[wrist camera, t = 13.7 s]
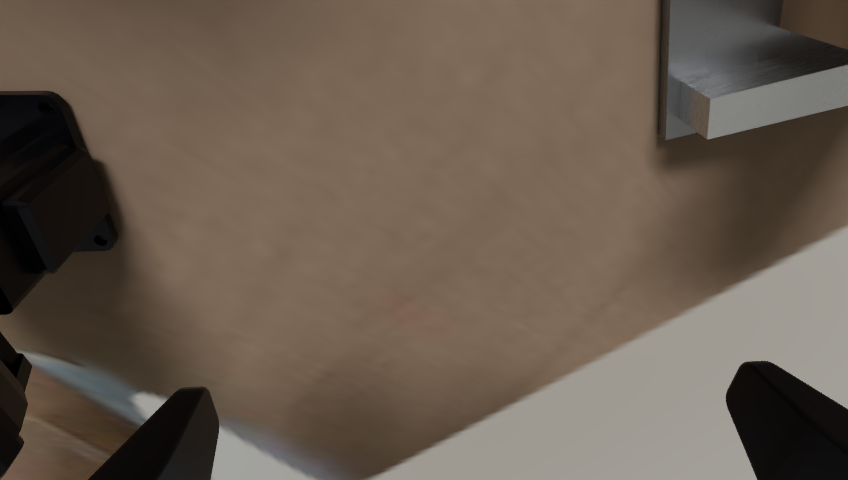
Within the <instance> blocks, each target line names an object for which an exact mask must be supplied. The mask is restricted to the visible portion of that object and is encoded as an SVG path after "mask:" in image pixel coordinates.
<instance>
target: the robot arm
mask: <svg viewBox="0 0 848 480" xmlns="http://www.w3.org/2000/svg"><path fill="white" fill-rule="evenodd" d="M44 102H48V103H49V104H51V105H52V107H53V108H54V112H52V111H50V110H48V109H47V108H46V106H45V105H44ZM109 210H110V207H109V205H108V202H107V199H106V197H105V194H104V192H103V189H102V186H101V184H100V181H99V179H98V176H97V173H96V171H95V168H94V166H93V163H92V160H91V158H90V155H89V153H88V152H87V151H86V150H85V149H84V147H83V145H82V142H81V140H80V137H79V134H78V132H77V129H76V127H75V124H74V122H73V119H72V116H71V114H70V111H69V109H68V106H67V104H66V102H65V101H64V99H63V98H62V97H61V96H59V95H58V94H56V93H54V92H50V91H0V315H6V314H10V313H11V312H12V311H13V310H14V309H15V308H16V307H17V306H18V304H19V303H20V302H21V301H22V300H23V299H24V298H25V297H26V296H27V294H28V293H29V292H30V291H31V290H32V289H33V288H34V287H35V286H36V284H37V283H38V282H39V281H40V280H41V279H42V278H43V277H44V276H45V274H53V273H55V272H56V271H57V270H58V269H59V268H60V267H61V266H62V264H63V263H64V262H65V261H66V260H67V259H68V258H69V256H70V255H71V254H72V253H73V252H79V251H106V250H110V249H111V248H112V247H113V246H114V245H115V243H116V242H117V240H118V235H117V232H116V230H115V227H114V225H113V222H112V220H111V217H110V214H109ZM98 235H100V236H103V237H105V238H106V240H103V239H101V238H100V237H99V236H98ZM31 368H32V365H31V364H30V362H29V361H28V360H27V359H26V357H25V356H24V355H23V354H22V353H17V352H16V351H15V350H14V348H13V347H12V346H11V345H10V343H9V342H8V341H7V340H6V338H5V337H4V336H3V335H2V333H1V332H0V479H1V478H2V477H3V476H4V475H5V473H6V472H7V470H8V469H9V467H10V466H11V464H12V463H13V461H14V460H15V458H16V457H17V455H18V454H19V452H20V450H21V449H22V447H23V444H24V441H23V438H22V437H21V436H20V435H19V433H20V431H21V428H22V424H23V420H24V417H25V413H26V409H27V405H28V403H27V399H26V396H25V393H24V392H25V389H26V386H27V382H28V379H29V375H30V372H31ZM726 403H727V407H728V410H729V412H730V415H731V417H732V420H733V422H734V424H735V426H736V429H737V432H738V434H739V436H740V439H741V441H742V443H743V446H744V448H745V450H746V453H747V456H748V458H749V460H750V463H751V465H752V468H753V470H754V473H755V475H756V477H757V480H848V409H847V408H845V407H843V406H842V405H840V404H838V403H837V402H835V401H834V400H832V399H830V398H829V397H827V396H825V395H824V394H822V393H820V392H819V391H817V390H815V389H814V388H812V387H811V386H809V385H807V384H806V383H804V382H803V381H801V380H799V379H798V378H796V377H795V376H793V375H791V374H790V373H788V372H786V371H785V370H783V369H782V368H780V367H778V366H777V365H775V364H773V363H771V362H768V361H754V362H753V361H752V362H745V363H743V364H742V365H741V366H740V367H739V369H738V371H737V373H736V375H735V377H734V379H733V381H732V383H731V385H730V386H729V388H728V390H727V393H726ZM218 433H219V419H218V416H217V413H216V410H215V407H214V404H213V401H212V398H211V395H210V392H209V390H208V389H207V388H206V387H185V388H181V389H179V390H178V391H176V392H175V393H174V394H173V395H172V396H171V397H170V398H169V399H168V400H167V401H166V402H165V403H164V404H163V405H162V406H161V407H160V408H159V409H158V410H157V411H156V412H155V413H154V414H153V415H152V416H151V417H150V418H149V419H148V420H147V421H146V422H145V423H144V424H143V425H142V426H141V427H140V428H139V429H138V430H137V431H136V432H135V433H134V434H133V435H132V436H131V437H130V438H129V439H128V440H127V441H126V442H125V443H124V444H123V445H122V446H121V447H120V448H119V449H118V450H117V451H116V452H115V453H114V454H113V455H112V456H111V457H110V458H109V459H108V460H107V461H106V462H105V463H104V464H103V465H102V466H101V467H100V468H99V469H98V470H97V471H96V472H95V473H94V474H93V475H92V476H91V477H90V478H89V479H88V480H210V479H211V474H212V468H213V462H214V456H215V451H216V445H217V439H218Z"/></svg>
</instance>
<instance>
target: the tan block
mask: <svg viewBox="0 0 848 480" xmlns="http://www.w3.org/2000/svg"><path fill="white" fill-rule="evenodd" d="M779 28H781V29H785V30H788V31H791V32H794V33H797V34H800V35H803V36H807V37H810V38H813V39H816V40H819V41H822V42H825V43H829V44H832V45H835V46H838V47H841V48H844V49H847V50H848V0H783V7H782V14H781V20H780V27H779Z"/></svg>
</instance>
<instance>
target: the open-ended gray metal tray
mask: <svg viewBox="0 0 848 480" xmlns="http://www.w3.org/2000/svg"><path fill="white" fill-rule="evenodd" d="M782 7H783V0H662V30H661V69H660V108H659V135H660V136H661V137H662V138H664V139H665V140H669V139H673V138H677V137H681V136H686V135H690V134H694V133H699V134H700V135H701V136H703V137H704V138H706V139H707V140H708V139H712V138H716V137H720V136H724V135H729V134H733V133H737V132H741V131H745V130H749V129H753V128H757V127H762V126H766V125H770V124H774V123H778V122H782V121H786V120H790V119H795V118H799V117H803V116H807V115H811V114H815V113H819V112H823V111H828V110H832V109H836V108H840V107H844V106H848V50H847V49H844V48H841V47H838V46H835V45H832V44H829V43H825V42H822V41H819V40H816V39H813V38H810V37H807V36H803V35H800V34H797V33H794V32H791V31H788V30H785V29H781V28H779V27H780V20H781V14H782Z"/></svg>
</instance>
